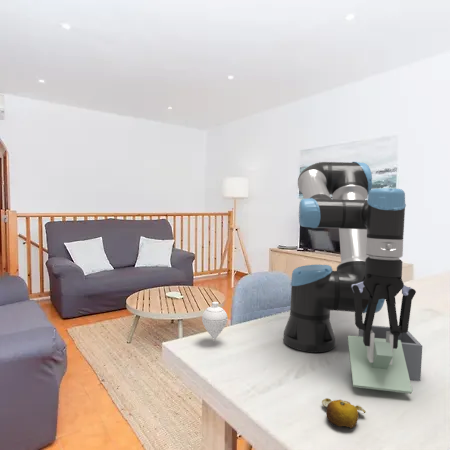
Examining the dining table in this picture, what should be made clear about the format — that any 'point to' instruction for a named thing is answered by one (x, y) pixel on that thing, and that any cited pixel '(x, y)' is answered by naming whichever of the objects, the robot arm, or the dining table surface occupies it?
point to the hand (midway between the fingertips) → (379, 360)
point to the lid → (378, 366)
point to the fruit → (341, 412)
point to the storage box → (404, 350)
